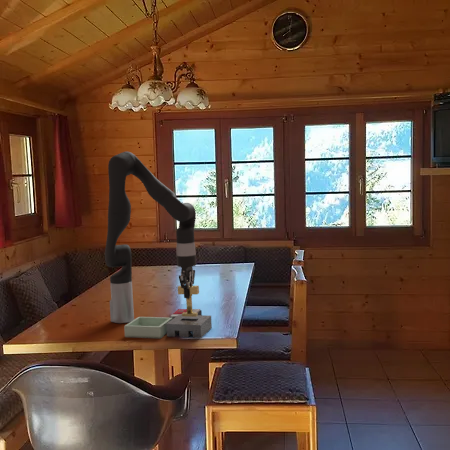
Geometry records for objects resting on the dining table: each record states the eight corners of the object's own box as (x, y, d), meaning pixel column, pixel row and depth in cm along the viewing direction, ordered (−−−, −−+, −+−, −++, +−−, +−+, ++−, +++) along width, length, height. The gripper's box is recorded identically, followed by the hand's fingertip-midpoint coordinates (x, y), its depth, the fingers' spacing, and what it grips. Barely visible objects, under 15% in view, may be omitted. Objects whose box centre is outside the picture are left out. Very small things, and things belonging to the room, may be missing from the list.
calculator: (201, 308, 255) (194, 315, 240) (202, 318, 255) (194, 325, 240) (177, 308, 256) (168, 315, 241) (177, 318, 256) (169, 325, 242)
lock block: (167, 336, 225) (166, 323, 225) (179, 326, 239) (178, 314, 238) (201, 337, 221) (200, 325, 221) (211, 327, 235) (211, 315, 234)
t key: (200, 315, 229) (198, 285, 228) (198, 316, 227) (196, 286, 226) (181, 315, 232) (179, 285, 230) (179, 316, 229) (177, 286, 228)
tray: (124, 337, 227) (124, 325, 226) (139, 327, 240) (138, 316, 240) (160, 338, 223) (159, 327, 222) (173, 328, 236) (172, 317, 236)
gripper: (189, 256, 219) (191, 301, 221) (200, 251, 233) (202, 293, 234) (171, 256, 221) (173, 301, 223) (183, 251, 235) (185, 293, 236)
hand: (188, 296), depth 229 cm, fingers closed on t key, 2 cm apart
